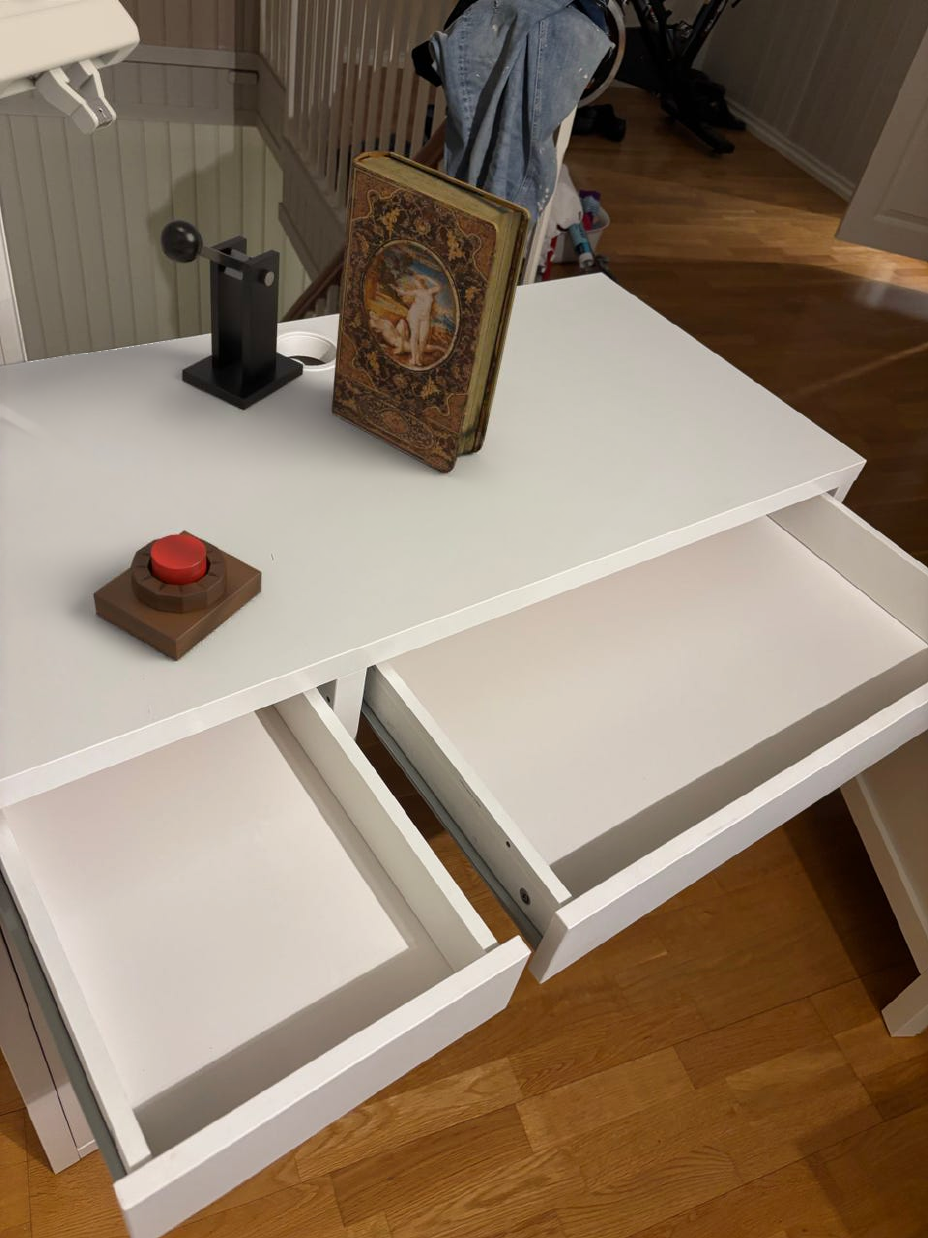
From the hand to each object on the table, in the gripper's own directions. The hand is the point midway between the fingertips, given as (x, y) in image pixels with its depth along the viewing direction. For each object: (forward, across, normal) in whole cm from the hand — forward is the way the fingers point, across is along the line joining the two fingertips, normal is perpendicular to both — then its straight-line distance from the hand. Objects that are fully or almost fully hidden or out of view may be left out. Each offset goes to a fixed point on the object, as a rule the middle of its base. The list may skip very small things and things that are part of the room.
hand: (102, 126), depth 78 cm
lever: (+14, -3, -3) cm, 14 cm away
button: (+30, +24, 0) cm, 38 cm away
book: (+36, -9, +1) cm, 37 cm away
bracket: (+23, -9, -11) cm, 27 cm away
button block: (+33, +24, -2) cm, 40 cm away
